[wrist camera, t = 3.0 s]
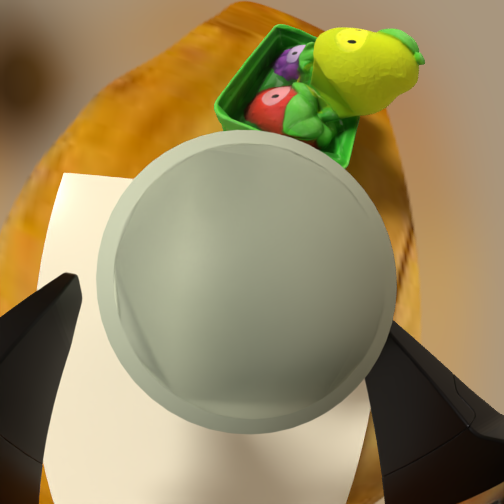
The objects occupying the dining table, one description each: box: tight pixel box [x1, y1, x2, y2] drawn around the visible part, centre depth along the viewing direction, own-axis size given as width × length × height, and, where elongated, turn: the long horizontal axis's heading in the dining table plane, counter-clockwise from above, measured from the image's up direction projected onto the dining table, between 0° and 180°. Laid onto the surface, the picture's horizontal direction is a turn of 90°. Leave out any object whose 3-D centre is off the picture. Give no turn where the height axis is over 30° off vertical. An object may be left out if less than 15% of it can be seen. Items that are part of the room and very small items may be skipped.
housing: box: [37, 173, 371, 504], centre depth 13 cm, size 20×18×4 cm
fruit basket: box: [214, 24, 425, 169], centre depth 14 cm, size 11×9×11 cm
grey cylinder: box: [96, 130, 397, 434], centre depth 10 cm, size 5×5×11 cm
